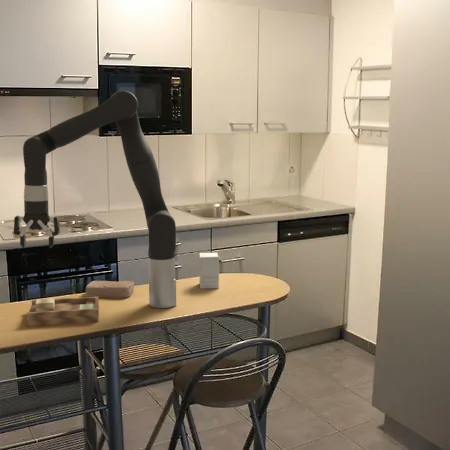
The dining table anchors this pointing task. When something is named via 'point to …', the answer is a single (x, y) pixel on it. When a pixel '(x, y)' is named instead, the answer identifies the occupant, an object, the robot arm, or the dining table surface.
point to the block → (45, 305)
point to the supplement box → (209, 270)
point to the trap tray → (66, 312)
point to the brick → (110, 289)
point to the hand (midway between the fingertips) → (37, 247)
